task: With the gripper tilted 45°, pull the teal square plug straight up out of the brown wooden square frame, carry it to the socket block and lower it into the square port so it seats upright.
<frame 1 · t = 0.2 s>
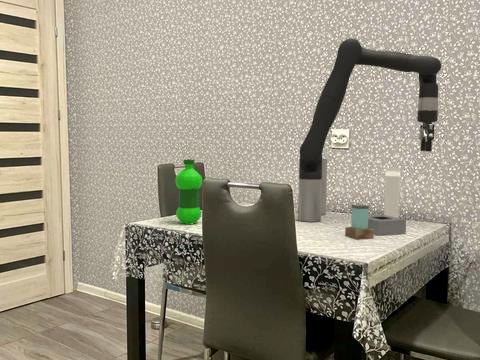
hand: (425, 151, 188), 29 cm above the table, tool pointing down, fingers open, 8 cm apart
plug: (359, 237, 163), resting in brown wooden square frame
port: (381, 231, 173), on the table
milk: (391, 220, 200), on the table
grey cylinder: (311, 213, 216), on the table
plastic bottle: (188, 223, 187), on the table
brown wooden square frame: (359, 236, 163), on the table
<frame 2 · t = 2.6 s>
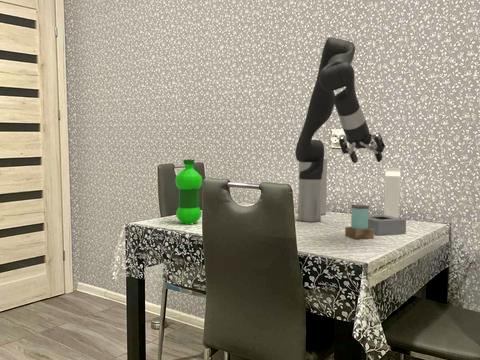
hand: (367, 161, 160), 26 cm above the table, tool tilted 40°, fingers open, 8 cm apart
nothing on the table moved.
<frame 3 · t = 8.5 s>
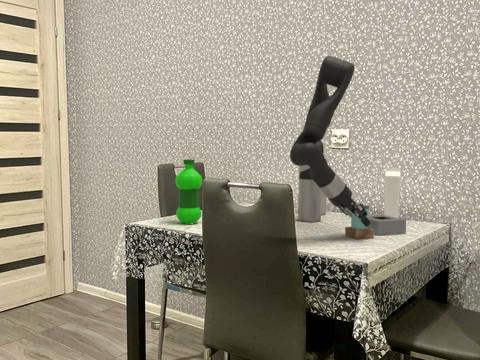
hand: (364, 223, 163), 5 cm above the table, tool tilted 45°, fingers closed on plug, 4 cm apart
plug: (359, 237, 163), resting in brown wooden square frame, touching gripper
everything else where it was.
when the fingers open (7 cm above the table, at t = 13.9 s): plug drops 2 cm, resting on port.
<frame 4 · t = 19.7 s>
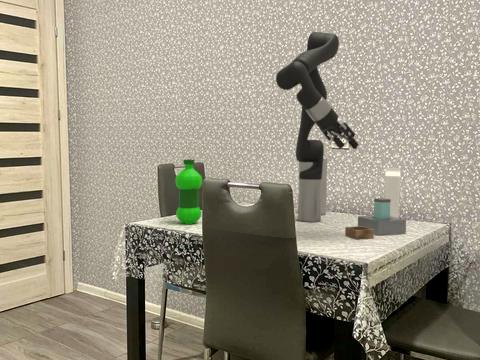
hand: (349, 147, 166), 31 cm above the table, tool tilted 45°, fingers open, 8 cm apart
plug: (381, 228, 173), point 1 cm above the table, touching port
everything else where it was.
at the end: plug 0.0 cm off-centre on the port, point 1.0 cm above the port's base; plug tilted 0°; the gripper is holding nothing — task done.
